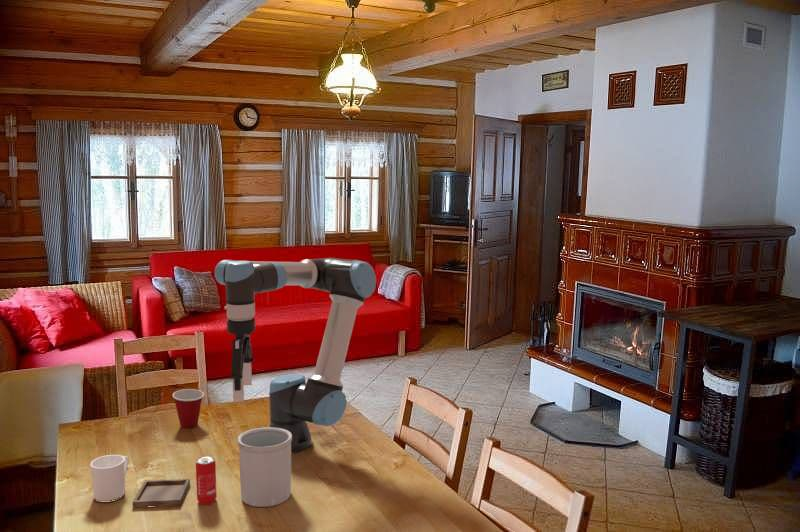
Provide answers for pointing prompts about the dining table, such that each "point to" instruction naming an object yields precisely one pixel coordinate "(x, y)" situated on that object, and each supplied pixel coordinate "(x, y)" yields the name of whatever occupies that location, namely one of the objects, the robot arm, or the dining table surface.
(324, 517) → the dining table surface
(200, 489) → the beverage can
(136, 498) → the tray
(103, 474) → the mug
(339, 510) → the dining table surface
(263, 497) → the utensil holder
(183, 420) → the plastic cup
